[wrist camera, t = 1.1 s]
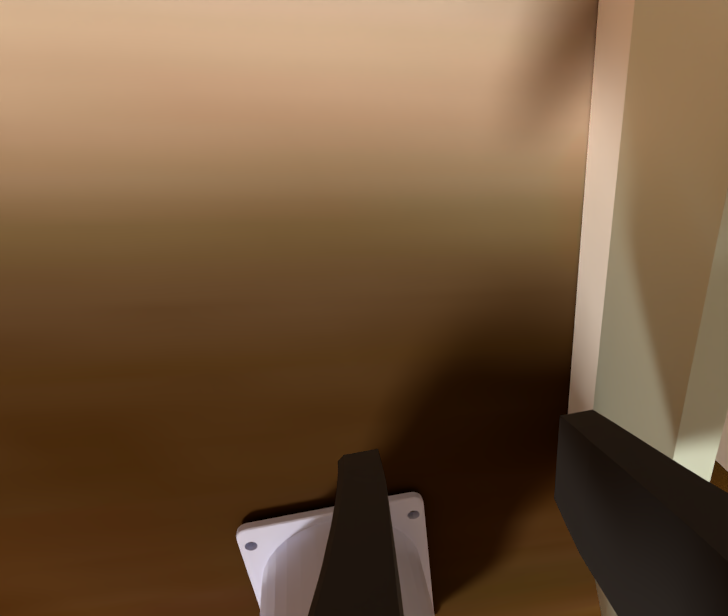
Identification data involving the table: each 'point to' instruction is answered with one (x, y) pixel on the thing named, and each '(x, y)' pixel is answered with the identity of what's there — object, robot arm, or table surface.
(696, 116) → the duct lid
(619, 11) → the cable duct
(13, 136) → the table surface
